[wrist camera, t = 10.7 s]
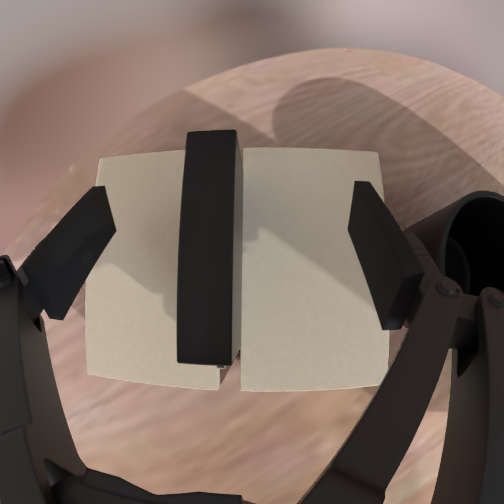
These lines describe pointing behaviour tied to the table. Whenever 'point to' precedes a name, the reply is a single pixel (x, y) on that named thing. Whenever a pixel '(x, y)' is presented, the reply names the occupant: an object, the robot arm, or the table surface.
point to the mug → (467, 241)
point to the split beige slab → (253, 275)
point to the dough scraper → (210, 250)
